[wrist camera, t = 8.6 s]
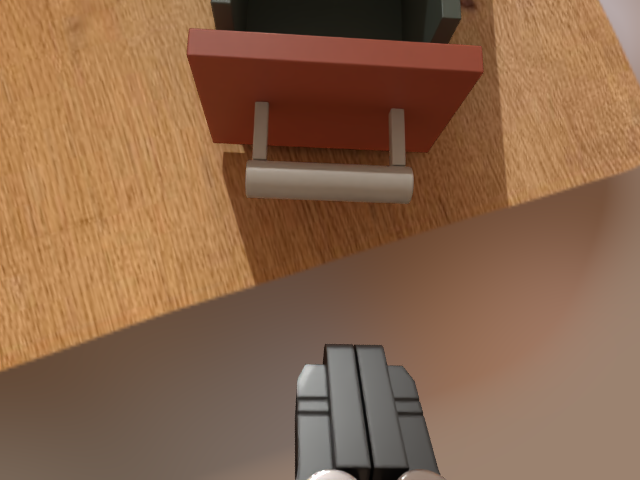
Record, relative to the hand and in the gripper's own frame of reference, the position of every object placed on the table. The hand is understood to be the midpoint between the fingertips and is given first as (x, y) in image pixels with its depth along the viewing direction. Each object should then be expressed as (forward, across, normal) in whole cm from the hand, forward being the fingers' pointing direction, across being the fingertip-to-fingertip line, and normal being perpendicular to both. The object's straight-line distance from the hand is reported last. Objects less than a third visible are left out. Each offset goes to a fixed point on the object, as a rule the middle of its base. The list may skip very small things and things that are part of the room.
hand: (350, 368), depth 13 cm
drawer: (+19, 0, +3) cm, 19 cm away
